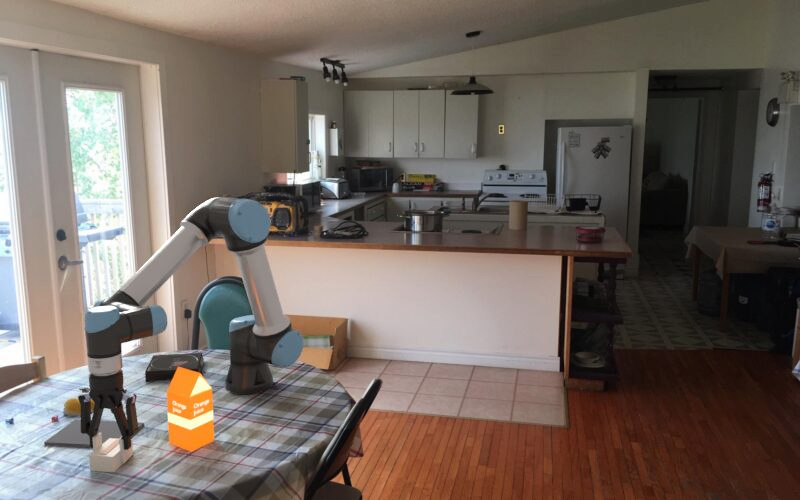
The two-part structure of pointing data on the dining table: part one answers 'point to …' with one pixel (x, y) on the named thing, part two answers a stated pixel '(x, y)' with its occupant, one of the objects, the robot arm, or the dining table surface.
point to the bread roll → (74, 407)
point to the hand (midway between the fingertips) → (111, 460)
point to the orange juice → (190, 410)
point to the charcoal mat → (76, 439)
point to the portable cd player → (172, 365)
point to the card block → (107, 456)
